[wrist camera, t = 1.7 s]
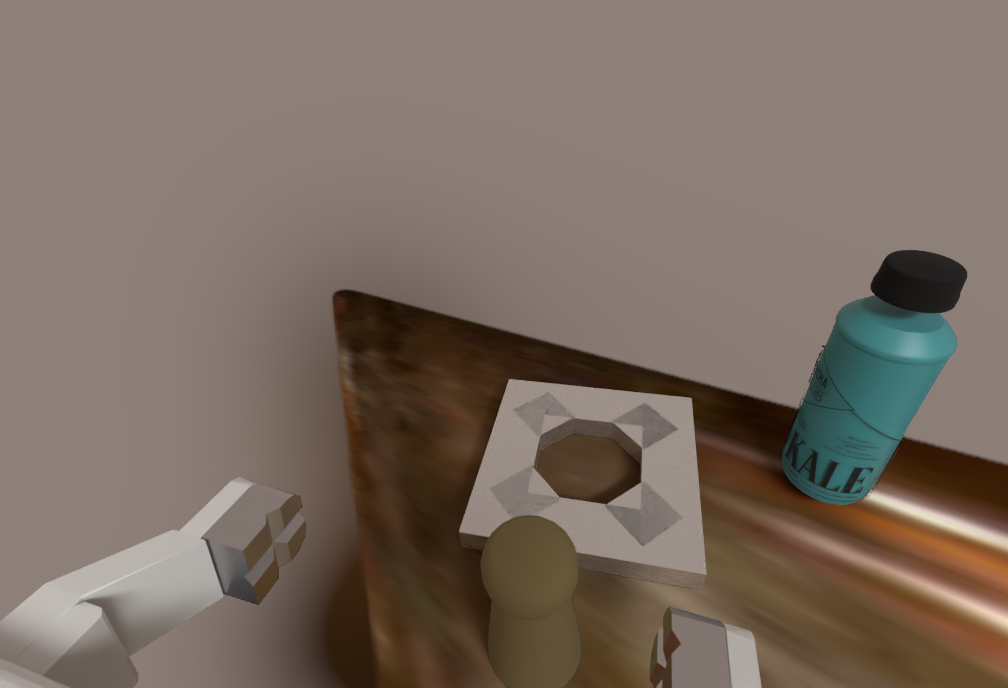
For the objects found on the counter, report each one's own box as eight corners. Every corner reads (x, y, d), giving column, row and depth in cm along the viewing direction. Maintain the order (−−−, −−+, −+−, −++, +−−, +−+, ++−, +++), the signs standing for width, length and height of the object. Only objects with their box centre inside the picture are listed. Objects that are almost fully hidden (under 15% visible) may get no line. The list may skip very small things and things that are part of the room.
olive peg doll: (476, 612, 35) (457, 515, 28) (560, 583, 36) (560, 484, 29) (503, 712, 30) (487, 624, 23) (598, 675, 31) (609, 581, 25)
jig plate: (688, 413, 48) (691, 398, 47) (701, 590, 35) (706, 574, 34) (510, 394, 52) (509, 379, 50) (461, 547, 38) (458, 531, 37)
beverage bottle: (841, 453, 43) (951, 233, 31) (883, 522, 38) (1034, 290, 26) (761, 452, 44) (838, 236, 32) (790, 521, 39) (897, 292, 26)
